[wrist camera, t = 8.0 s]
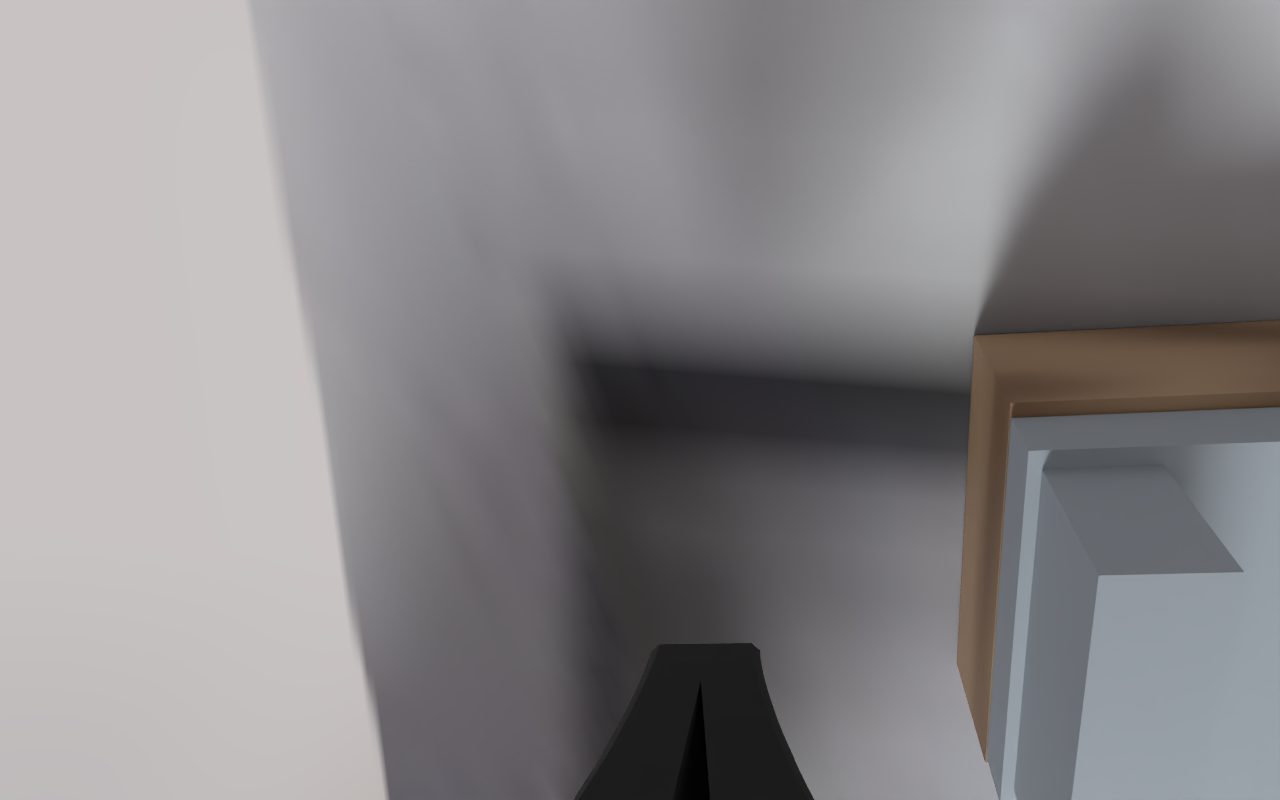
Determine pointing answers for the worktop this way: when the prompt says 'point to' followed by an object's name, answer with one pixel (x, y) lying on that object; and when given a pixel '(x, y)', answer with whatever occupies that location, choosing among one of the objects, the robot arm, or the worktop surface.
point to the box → (1082, 385)
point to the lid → (1139, 608)
